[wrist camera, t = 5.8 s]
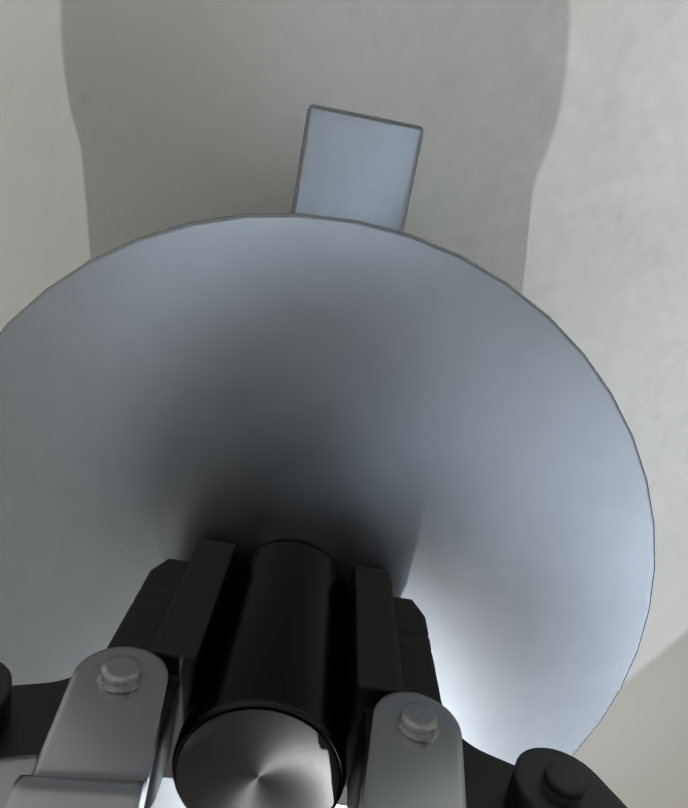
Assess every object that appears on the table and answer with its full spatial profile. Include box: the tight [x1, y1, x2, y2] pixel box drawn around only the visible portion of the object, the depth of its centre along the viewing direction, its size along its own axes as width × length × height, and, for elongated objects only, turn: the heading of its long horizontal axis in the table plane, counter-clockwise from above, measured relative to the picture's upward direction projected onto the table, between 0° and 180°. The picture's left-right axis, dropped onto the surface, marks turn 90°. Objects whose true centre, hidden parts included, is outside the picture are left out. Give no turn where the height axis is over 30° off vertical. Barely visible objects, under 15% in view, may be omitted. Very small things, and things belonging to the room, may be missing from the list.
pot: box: [291, 104, 423, 232], centre depth 18 cm, size 14×19×8 cm
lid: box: [0, 213, 655, 808], centre depth 11 cm, size 15×15×6 cm
